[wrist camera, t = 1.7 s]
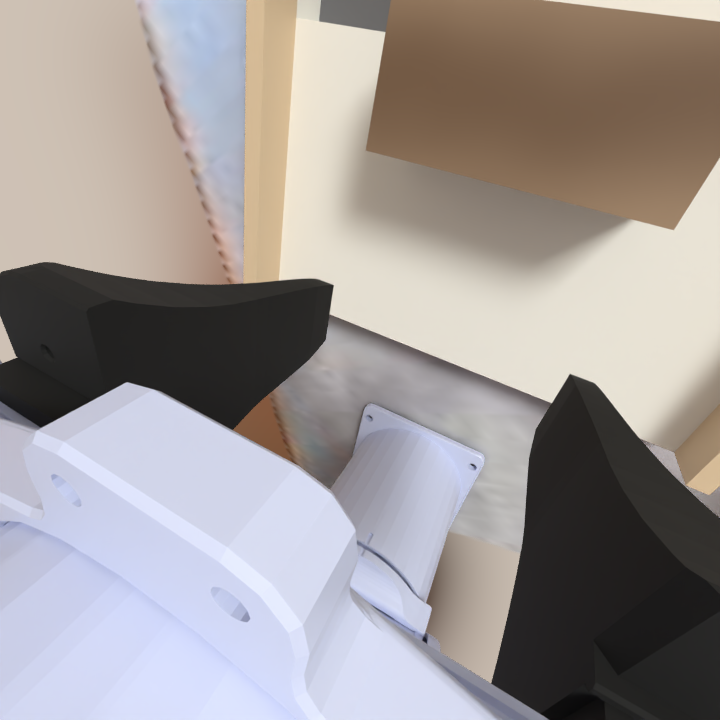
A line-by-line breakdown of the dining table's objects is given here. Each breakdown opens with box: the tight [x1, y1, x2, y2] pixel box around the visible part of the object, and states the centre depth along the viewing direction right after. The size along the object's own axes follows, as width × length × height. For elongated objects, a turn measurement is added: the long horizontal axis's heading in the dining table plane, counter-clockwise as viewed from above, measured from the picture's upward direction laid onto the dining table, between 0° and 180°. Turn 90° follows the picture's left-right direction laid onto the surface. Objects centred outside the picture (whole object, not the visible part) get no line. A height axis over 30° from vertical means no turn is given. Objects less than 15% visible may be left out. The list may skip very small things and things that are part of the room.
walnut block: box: [366, 0, 720, 230], centre depth 12 cm, size 4×9×4 cm, turn 78°
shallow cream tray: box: [243, 0, 720, 495], centre depth 12 cm, size 24×22×4 cm
